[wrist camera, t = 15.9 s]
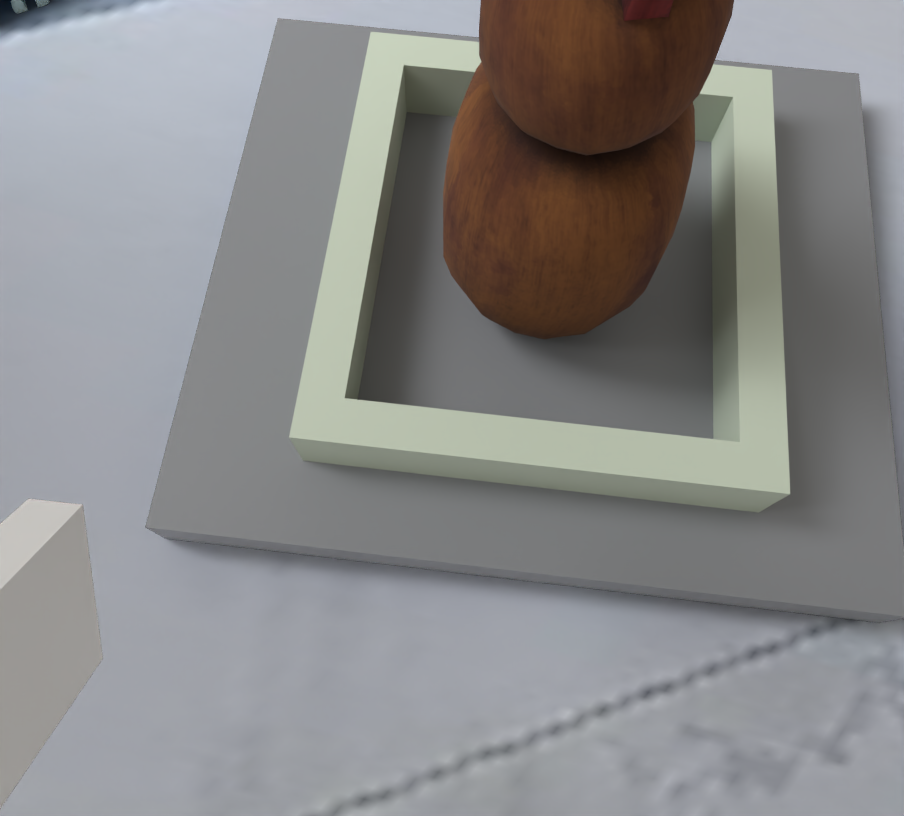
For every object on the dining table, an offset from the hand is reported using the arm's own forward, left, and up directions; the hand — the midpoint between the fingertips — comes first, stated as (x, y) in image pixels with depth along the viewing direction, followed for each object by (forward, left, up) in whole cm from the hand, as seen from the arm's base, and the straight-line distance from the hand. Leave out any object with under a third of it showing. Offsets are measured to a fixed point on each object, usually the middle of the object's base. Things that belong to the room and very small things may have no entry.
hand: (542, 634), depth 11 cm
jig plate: (0, +11, -10) cm, 15 cm away
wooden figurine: (0, +11, -9) cm, 14 cm away
